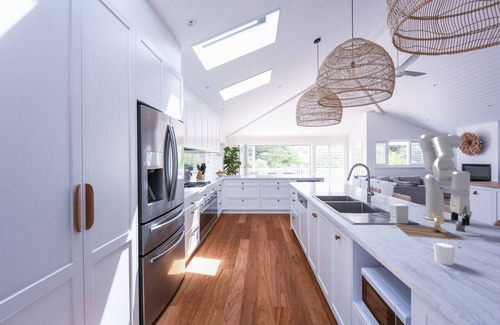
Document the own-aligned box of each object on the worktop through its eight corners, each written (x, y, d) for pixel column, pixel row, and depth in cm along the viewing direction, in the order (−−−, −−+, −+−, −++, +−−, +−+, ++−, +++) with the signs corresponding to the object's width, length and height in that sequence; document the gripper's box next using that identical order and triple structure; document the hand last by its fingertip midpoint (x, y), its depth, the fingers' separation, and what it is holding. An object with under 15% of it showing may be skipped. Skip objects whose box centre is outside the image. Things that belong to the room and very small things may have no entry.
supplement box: (401, 222, 144) (401, 203, 144) (408, 225, 137) (408, 205, 137) (389, 222, 145) (389, 203, 145) (396, 225, 138) (396, 205, 138)
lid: (441, 229, 131) (441, 218, 131) (466, 230, 128) (466, 219, 128) (453, 235, 120) (454, 224, 120) (481, 238, 117) (481, 225, 116)
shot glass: (431, 261, 89) (431, 244, 89) (433, 256, 94) (433, 240, 94) (454, 267, 84) (455, 249, 84) (455, 261, 89) (455, 244, 89)
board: (394, 226, 136) (394, 223, 136) (440, 229, 129) (440, 226, 129) (408, 238, 115) (408, 235, 115) (465, 243, 108) (465, 240, 108)
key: (441, 235, 115) (441, 217, 115) (431, 228, 125) (431, 212, 125) (446, 235, 114) (447, 217, 114) (436, 229, 125) (436, 213, 124)
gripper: (443, 190, 133) (443, 218, 134) (462, 195, 117) (461, 227, 117) (458, 190, 131) (458, 219, 132) (479, 196, 114) (479, 228, 115)
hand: (459, 222), depth 124 cm, fingers open, 9 cm apart
